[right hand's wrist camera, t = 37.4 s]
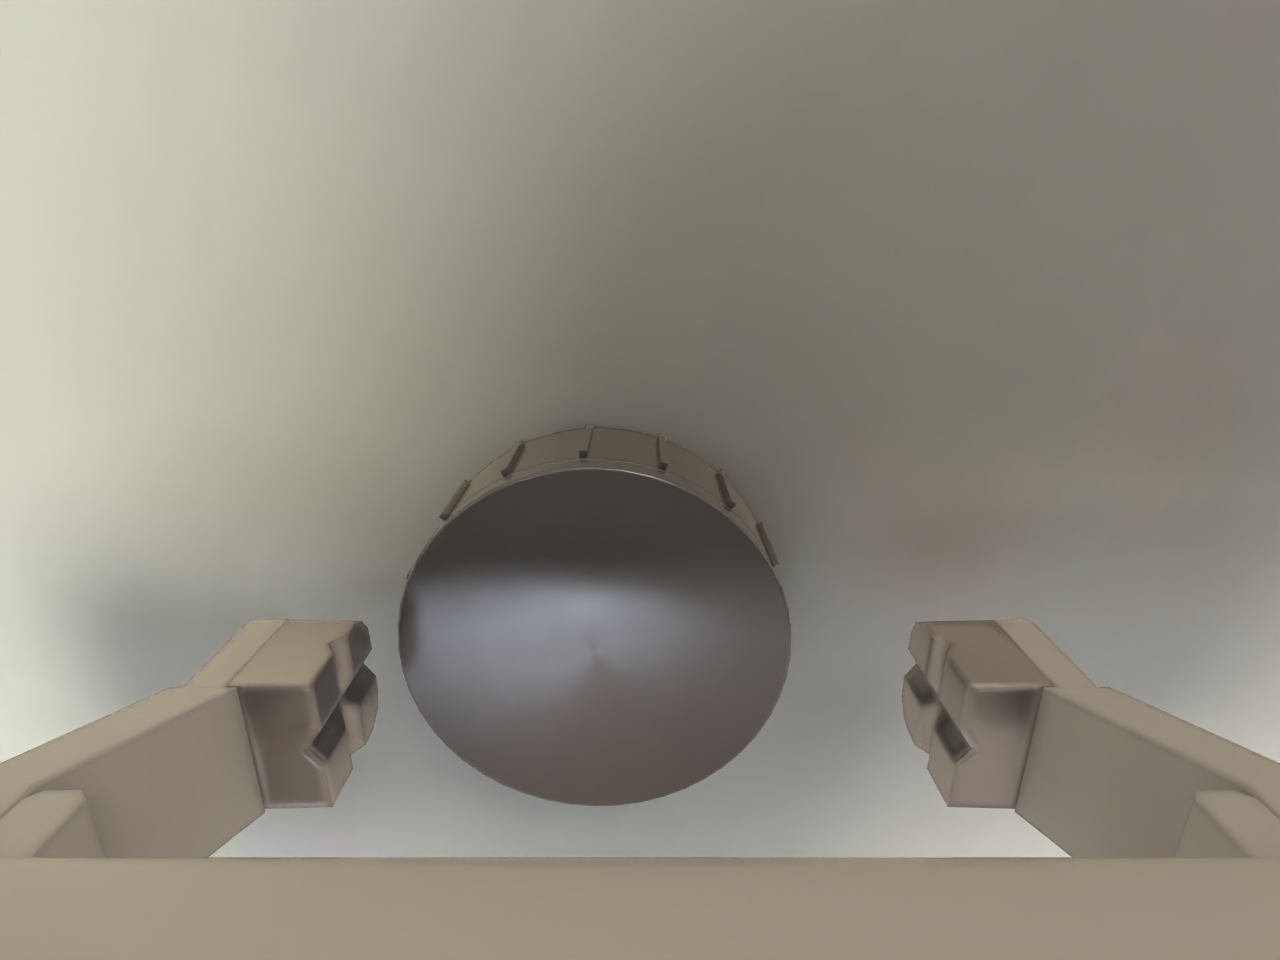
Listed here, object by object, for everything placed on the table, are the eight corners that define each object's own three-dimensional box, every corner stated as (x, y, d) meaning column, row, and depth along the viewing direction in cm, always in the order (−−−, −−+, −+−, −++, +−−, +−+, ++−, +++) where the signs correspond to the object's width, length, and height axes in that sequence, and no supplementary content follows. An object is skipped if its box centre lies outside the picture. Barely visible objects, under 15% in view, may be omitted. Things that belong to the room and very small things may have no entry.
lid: (376, 637, 12) (331, 708, 11) (532, 355, 11) (510, 383, 9) (657, 773, 13) (659, 860, 12) (838, 536, 12) (875, 593, 10)
